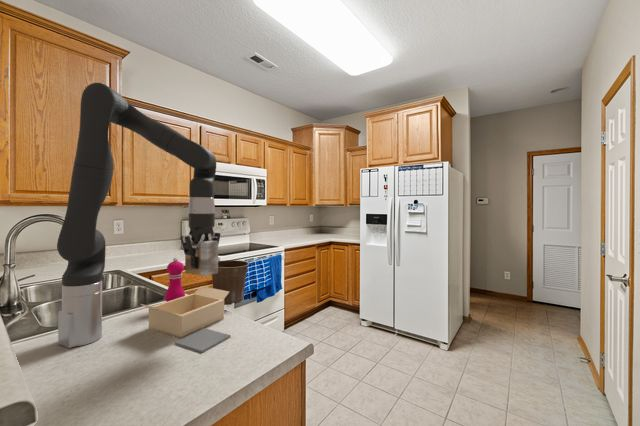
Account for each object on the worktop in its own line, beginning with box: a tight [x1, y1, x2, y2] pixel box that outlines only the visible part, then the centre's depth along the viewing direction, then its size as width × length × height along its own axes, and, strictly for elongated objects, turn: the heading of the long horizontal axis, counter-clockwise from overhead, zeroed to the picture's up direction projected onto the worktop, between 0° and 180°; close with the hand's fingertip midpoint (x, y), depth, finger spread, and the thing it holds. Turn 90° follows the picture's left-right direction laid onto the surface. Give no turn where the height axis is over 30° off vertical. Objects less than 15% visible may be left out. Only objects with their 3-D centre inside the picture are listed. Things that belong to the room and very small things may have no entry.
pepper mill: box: [164, 257, 186, 302], centre depth 113 cm, size 7×7×20 cm
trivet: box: [174, 327, 231, 354], centre depth 87 cm, size 11×11×1 cm
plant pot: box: [211, 259, 250, 306], centre depth 123 cm, size 16×16×16 cm
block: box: [184, 241, 219, 277], centre depth 89 cm, size 4×9×10 cm, turn 66°
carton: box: [140, 285, 229, 340], centre depth 99 cm, size 24×16×9 cm, turn 154°
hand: (201, 266), depth 89 cm, fingers closed on block, 4 cm apart
